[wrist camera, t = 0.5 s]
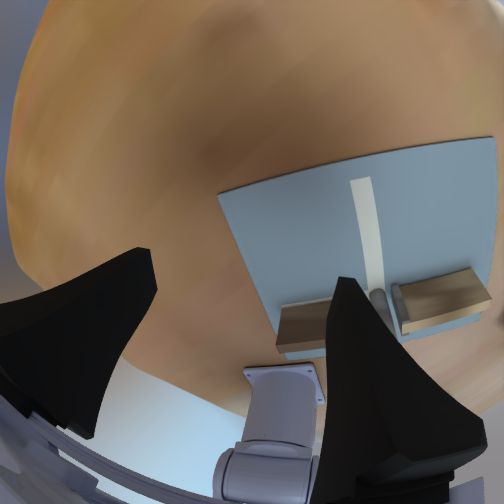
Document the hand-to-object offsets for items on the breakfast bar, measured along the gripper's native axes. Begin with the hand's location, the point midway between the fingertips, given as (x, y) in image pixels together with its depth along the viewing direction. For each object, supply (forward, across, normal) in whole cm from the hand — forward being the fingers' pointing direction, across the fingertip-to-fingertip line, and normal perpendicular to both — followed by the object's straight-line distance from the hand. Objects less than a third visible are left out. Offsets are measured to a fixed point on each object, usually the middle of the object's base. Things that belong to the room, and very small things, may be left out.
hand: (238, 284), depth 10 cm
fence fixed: (+9, -6, +8) cm, 14 cm away
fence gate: (+9, -14, +5) cm, 17 cm away
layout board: (+10, -10, +4) cm, 14 cm away
